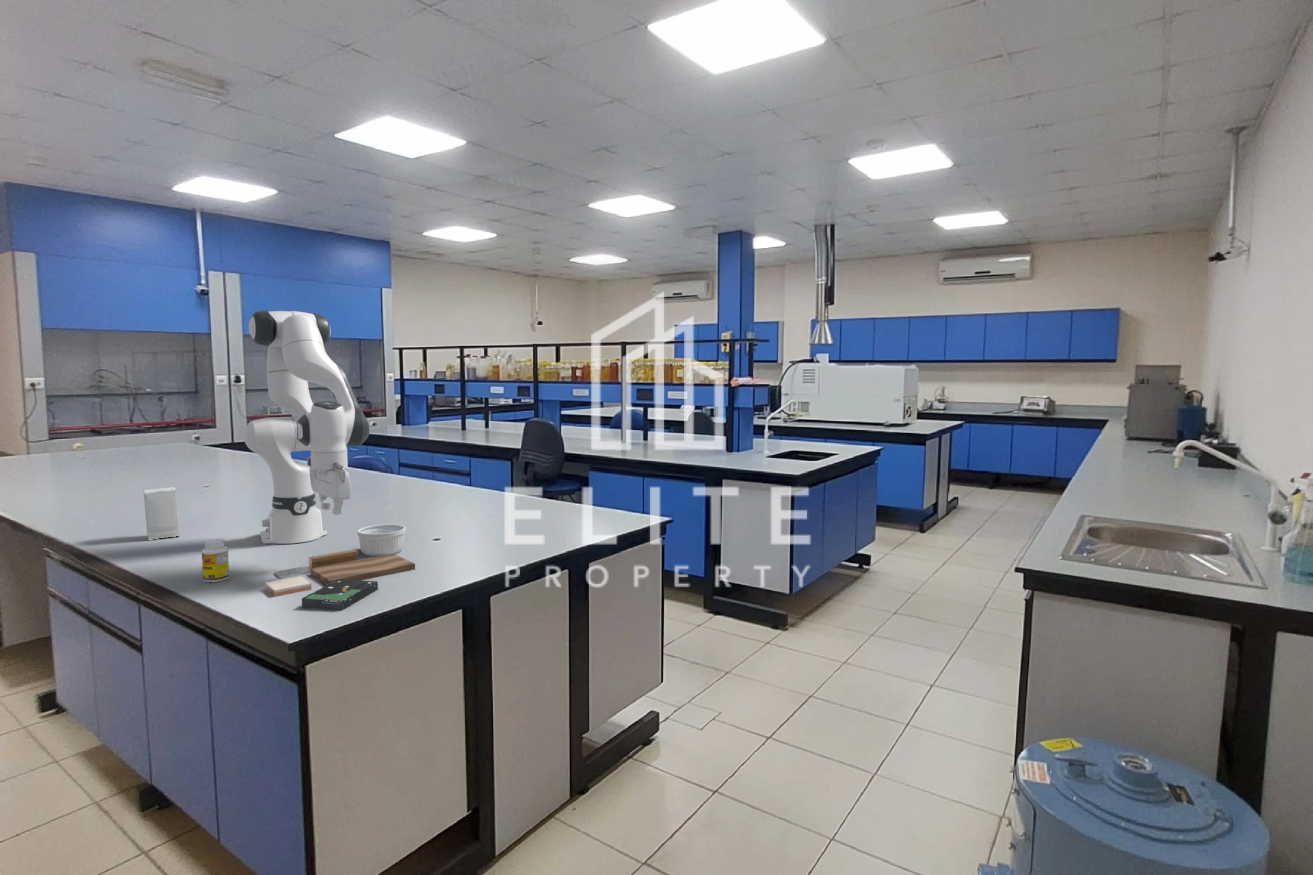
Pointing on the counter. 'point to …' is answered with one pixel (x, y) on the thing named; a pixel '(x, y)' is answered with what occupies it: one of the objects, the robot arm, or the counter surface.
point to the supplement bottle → (215, 561)
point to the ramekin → (381, 539)
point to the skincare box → (161, 513)
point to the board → (362, 568)
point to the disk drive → (339, 594)
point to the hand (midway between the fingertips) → (331, 511)
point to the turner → (319, 563)
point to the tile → (288, 586)
